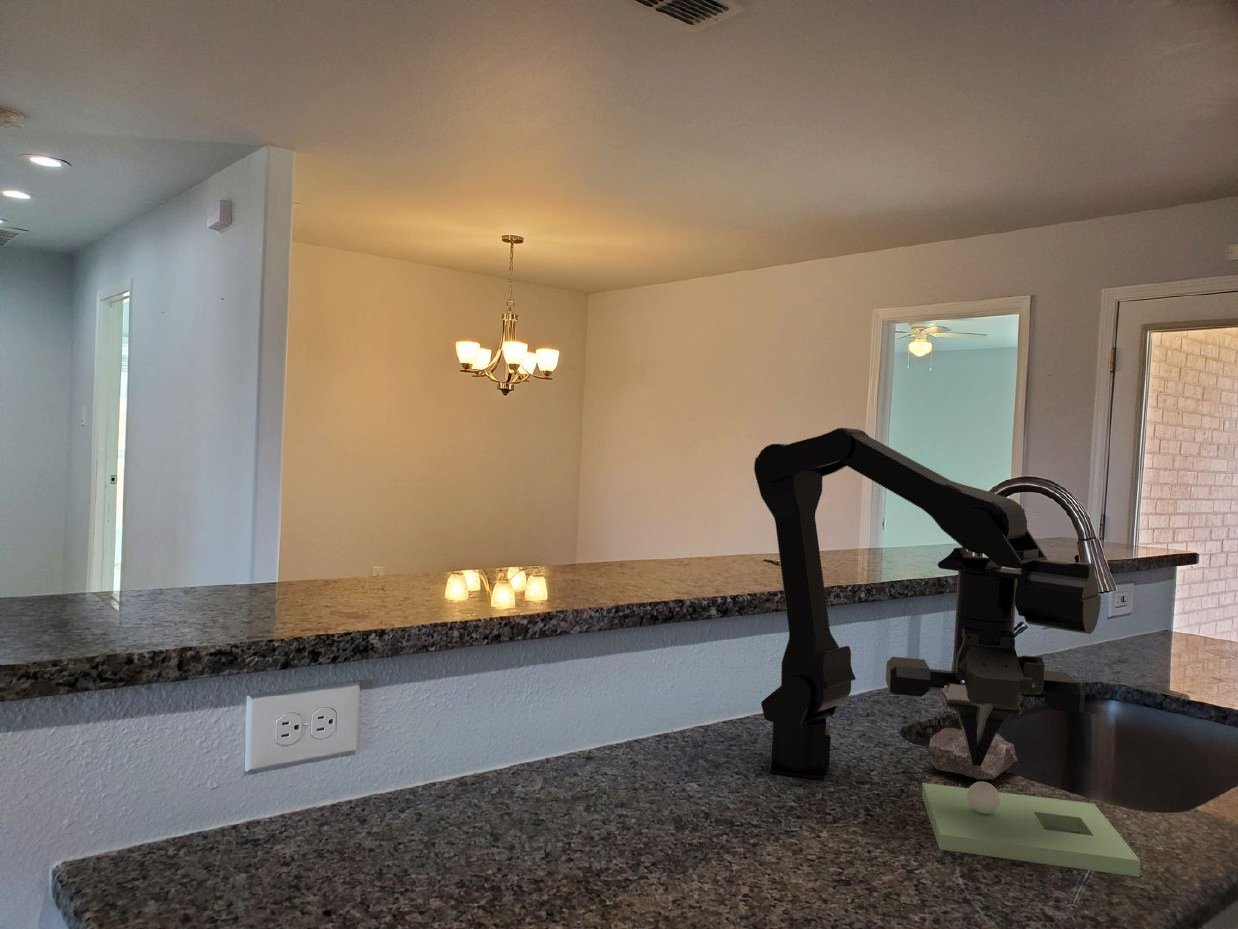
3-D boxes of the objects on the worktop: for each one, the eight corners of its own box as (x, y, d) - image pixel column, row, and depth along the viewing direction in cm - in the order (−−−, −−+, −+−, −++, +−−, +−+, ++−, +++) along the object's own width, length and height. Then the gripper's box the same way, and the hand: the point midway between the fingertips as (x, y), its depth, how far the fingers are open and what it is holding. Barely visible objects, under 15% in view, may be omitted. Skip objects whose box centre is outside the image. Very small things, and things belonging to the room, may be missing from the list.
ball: (961, 800, 94) (985, 781, 93) (959, 789, 97) (982, 771, 96) (984, 825, 93) (1008, 806, 93) (981, 813, 96) (1004, 795, 96)
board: (939, 850, 89) (940, 834, 89) (921, 796, 103) (922, 782, 102) (1139, 877, 85) (1140, 860, 85) (1093, 818, 99) (1094, 803, 99)
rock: (1030, 768, 112) (1031, 731, 112) (987, 790, 104) (988, 750, 104) (967, 751, 118) (968, 716, 118) (922, 770, 110) (923, 733, 110)
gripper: (899, 623, 88) (890, 781, 89) (1107, 641, 84) (1096, 806, 85) (889, 604, 99) (881, 745, 99) (1072, 619, 95) (1063, 765, 96)
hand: (975, 764), depth 95 cm, fingers closed
